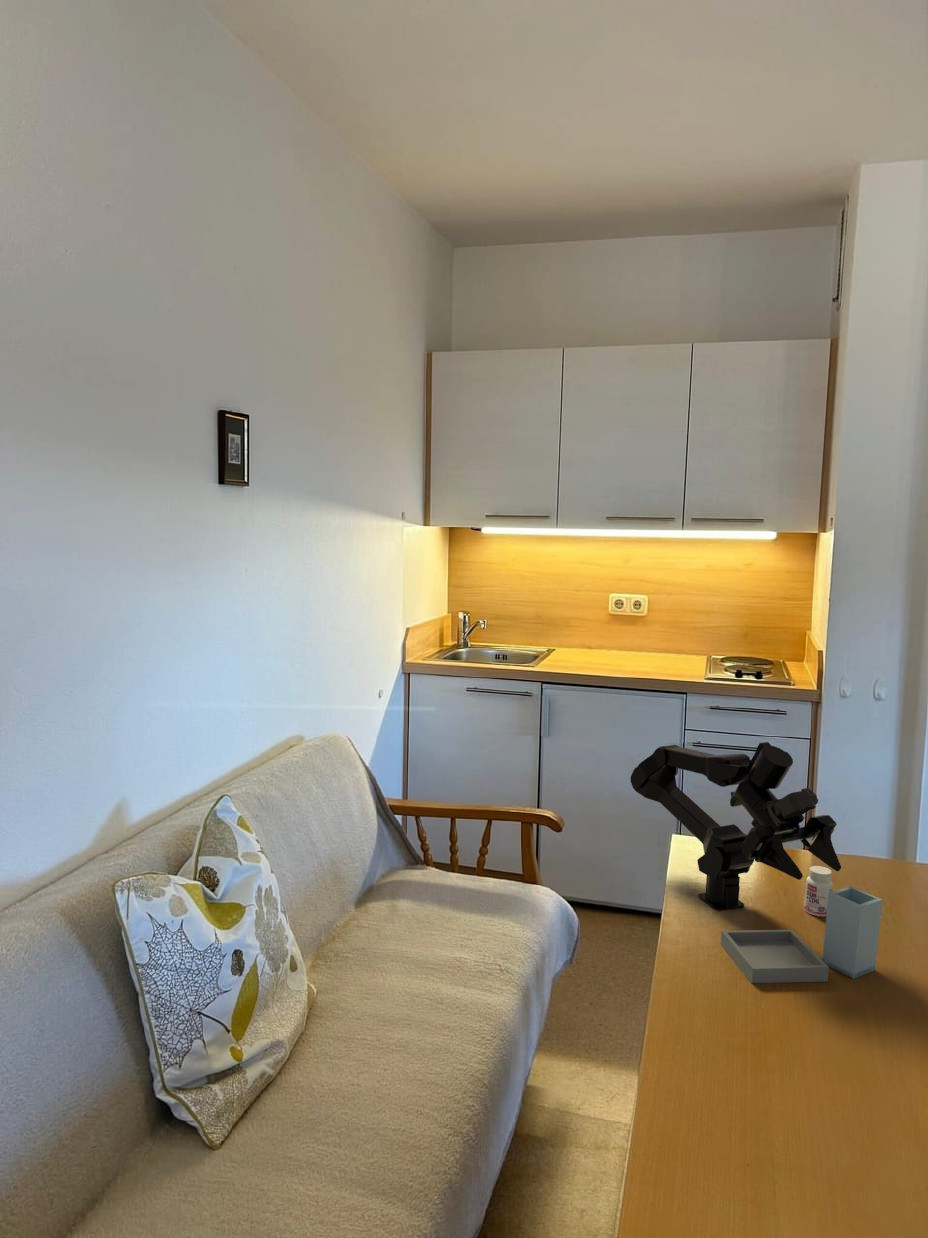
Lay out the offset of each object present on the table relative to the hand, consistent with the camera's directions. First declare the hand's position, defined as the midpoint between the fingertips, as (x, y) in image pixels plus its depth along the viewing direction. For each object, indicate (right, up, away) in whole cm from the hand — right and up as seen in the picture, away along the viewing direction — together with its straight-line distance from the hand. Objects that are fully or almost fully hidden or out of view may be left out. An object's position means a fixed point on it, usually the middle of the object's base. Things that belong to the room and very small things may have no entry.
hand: (820, 873), depth 154 cm
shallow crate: (-9, -15, -1) cm, 17 cm away
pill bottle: (+7, -13, +19) cm, 24 cm away
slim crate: (+4, -15, -1) cm, 16 cm away
